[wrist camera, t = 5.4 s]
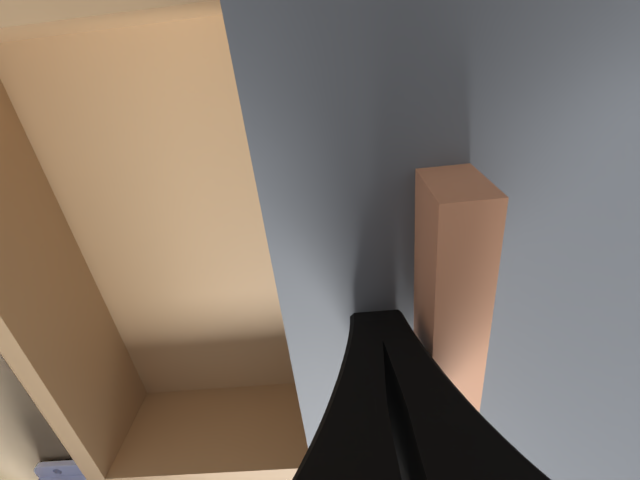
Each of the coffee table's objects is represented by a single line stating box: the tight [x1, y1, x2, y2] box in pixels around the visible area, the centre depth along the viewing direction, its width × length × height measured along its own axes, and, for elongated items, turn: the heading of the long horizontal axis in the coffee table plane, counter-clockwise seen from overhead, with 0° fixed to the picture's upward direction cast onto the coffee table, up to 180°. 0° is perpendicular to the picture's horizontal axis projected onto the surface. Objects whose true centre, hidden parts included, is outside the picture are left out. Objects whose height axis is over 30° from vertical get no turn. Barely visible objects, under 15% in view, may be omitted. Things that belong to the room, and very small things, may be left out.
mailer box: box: [0, 0, 308, 480], centre depth 14 cm, size 14×18×5 cm
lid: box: [220, 0, 640, 480], centre depth 10 cm, size 14×18×3 cm
